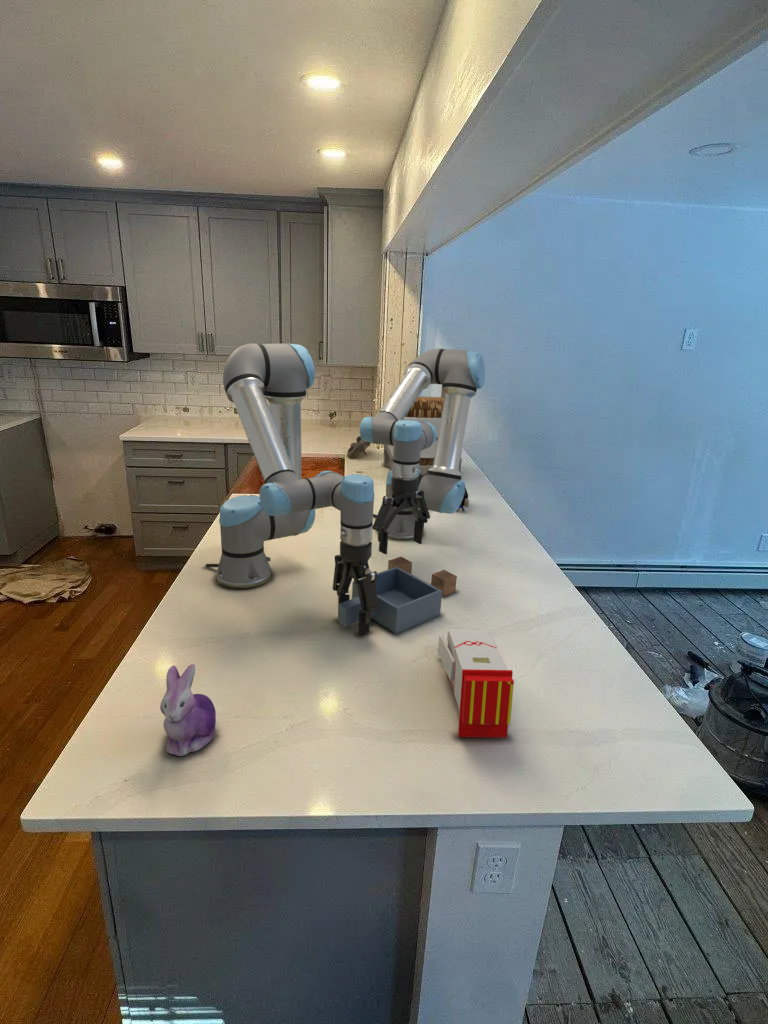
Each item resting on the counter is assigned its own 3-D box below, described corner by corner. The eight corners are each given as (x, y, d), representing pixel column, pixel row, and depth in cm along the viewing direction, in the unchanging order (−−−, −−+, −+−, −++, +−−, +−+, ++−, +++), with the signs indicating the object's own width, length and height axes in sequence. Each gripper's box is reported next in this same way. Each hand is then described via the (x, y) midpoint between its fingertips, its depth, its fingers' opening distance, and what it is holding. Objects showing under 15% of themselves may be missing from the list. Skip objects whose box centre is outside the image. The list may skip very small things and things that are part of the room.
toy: (488, 613, 130) (523, 677, 101) (484, 667, 133) (517, 744, 104) (435, 612, 130) (455, 676, 101) (432, 666, 133) (451, 743, 103)
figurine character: (468, 516, 224) (463, 500, 237) (471, 498, 221) (465, 483, 234) (452, 515, 224) (447, 499, 237) (453, 498, 220) (449, 482, 234)
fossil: (347, 441, 314) (368, 426, 309) (358, 454, 317) (379, 439, 312) (341, 455, 294) (363, 439, 289) (352, 469, 297) (375, 453, 292)
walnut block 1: (387, 575, 168) (388, 560, 167) (400, 571, 171) (400, 556, 170) (398, 582, 165) (399, 566, 163) (411, 577, 168) (412, 562, 166)
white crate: (382, 463, 289) (386, 382, 275) (445, 464, 293) (451, 384, 279) (390, 482, 257) (394, 392, 243) (460, 483, 261) (468, 394, 247)
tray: (320, 616, 145) (320, 592, 142) (395, 589, 161) (396, 566, 158) (363, 647, 132) (364, 621, 130) (440, 614, 148) (442, 590, 146)
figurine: (168, 766, 96) (159, 693, 91) (160, 728, 104) (152, 659, 99) (224, 749, 100) (219, 678, 95) (212, 714, 109) (207, 646, 103)
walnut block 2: (430, 590, 161) (431, 574, 159) (442, 585, 164) (444, 569, 162) (443, 596, 157) (444, 580, 156) (455, 591, 161) (456, 576, 159)
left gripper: (318, 530, 138) (317, 613, 145) (371, 559, 123) (367, 649, 131) (342, 524, 142) (341, 605, 150) (396, 551, 128) (391, 638, 136)
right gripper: (379, 486, 147) (376, 561, 154) (445, 473, 163) (439, 542, 170) (361, 480, 152) (358, 552, 159) (427, 468, 168) (422, 534, 175)
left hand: (353, 625), depth 141 cm, fingers open, 7 cm apart
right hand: (400, 547), depth 165 cm, fingers open, 13 cm apart
